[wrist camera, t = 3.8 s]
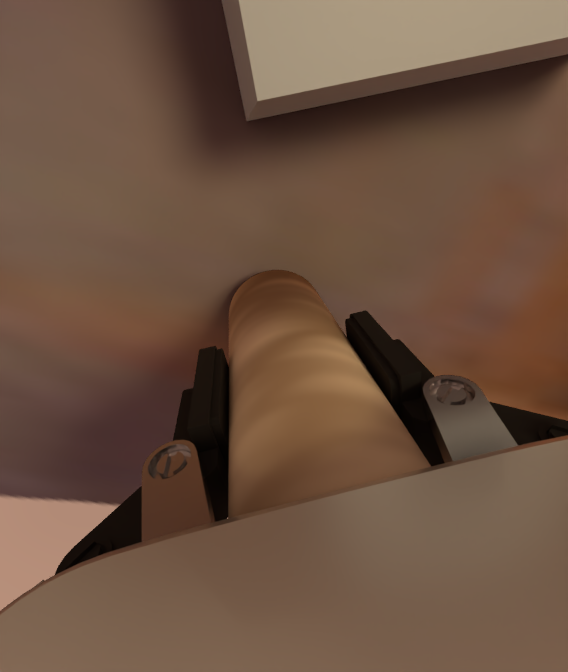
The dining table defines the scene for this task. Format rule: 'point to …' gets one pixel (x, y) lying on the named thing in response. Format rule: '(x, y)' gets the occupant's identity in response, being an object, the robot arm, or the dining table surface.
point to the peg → (302, 401)
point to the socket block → (379, 45)
